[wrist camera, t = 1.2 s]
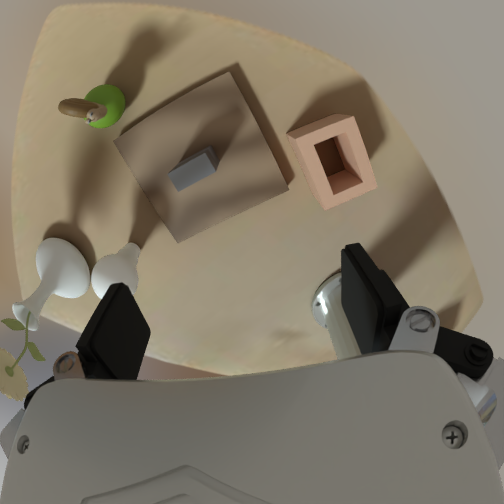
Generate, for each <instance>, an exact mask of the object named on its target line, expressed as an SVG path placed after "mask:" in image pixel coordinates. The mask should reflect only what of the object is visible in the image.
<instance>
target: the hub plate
mask: <svg viewBox="0 0 504 504" xmlns="http://www.w3.org/2000/svg"><path fill="white" fill-rule="evenodd" d="M113 142H114V143H115V145H116V147H117V148H118V150H119V152H120V154H121V155H122V157H123V159H124V160H125V162H126V164H127V165H128V167H129V169H130V170H131V172H132V173H133V175H134V177H135V178H136V180H137V182H138V183H139V185H140V186H141V188H142V190H143V191H144V193H145V194H146V196H147V198H148V199H149V201H150V202H151V204H152V205H153V207H154V208H155V210H156V212H157V213H158V215H159V216H160V218H161V219H162V221H163V222H164V224H165V225H166V227H167V228H168V230H169V231H170V233H171V234H172V236H173V237H174V239H175V240H176V242H177V243H180V242H182V241H183V240H185V239H187V238H189V237H191V236H193V235H195V234H197V233H199V232H201V231H203V230H206V229H208V228H210V227H212V226H214V225H216V224H218V223H220V222H222V221H224V220H226V219H228V218H230V217H232V216H234V215H236V214H239V213H241V212H243V211H245V210H247V209H249V208H251V207H253V206H255V205H258V204H260V203H262V202H264V201H266V200H268V199H271V198H273V197H275V196H277V195H279V194H282V193H284V192H286V191H288V190H289V188H288V186H287V184H286V182H285V179H284V177H283V175H282V173H281V171H280V169H279V167H278V165H277V162H276V160H275V158H274V156H273V154H272V152H271V150H270V148H269V146H268V144H267V142H266V140H265V138H264V136H263V134H262V132H261V130H260V128H259V126H258V124H257V122H256V120H255V118H254V116H253V114H252V112H251V111H250V109H249V107H248V105H247V103H246V101H245V99H244V97H243V95H242V94H241V92H240V90H239V88H238V86H237V84H236V83H235V81H234V79H233V77H232V75H231V74H230V72H227V73H225V74H223V75H221V76H219V77H217V78H215V79H213V80H211V81H209V82H207V83H205V84H203V85H201V86H199V87H197V88H195V89H194V90H192V91H190V92H188V93H186V94H185V95H183V96H181V97H179V98H178V99H176V100H174V101H173V102H171V103H169V104H168V105H166V106H164V107H163V108H161V109H159V110H158V111H156V112H155V113H153V114H152V115H150V116H148V117H147V118H145V119H144V120H142V121H141V122H139V123H138V124H137V125H135V126H134V127H132V128H131V129H129V130H128V131H127V132H125V133H124V134H122V135H121V136H120V137H118V138H117V139H116V140H114V141H113Z"/></svg>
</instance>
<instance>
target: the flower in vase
mask: <svg viewBox="0 0 504 504" xmlns="http://www.w3.org/2000/svg"><path fill="white" fill-rule="evenodd" d="M36 265H37V270H38V273H39V276H40V278H41V284H40V286H39V287H38V288H37V290H36V291H35V292H34V293H33V294H32V295H31V296H30V297H29V298H27V299H26V300H24V301H22V302H16V303H14V304H13V306H12V308H13V312H14V314H15V316H16V318H17V319H18V320H15V319H4V320H2V321H1V322H3V323H4V324H6V325H7V326H8V327H9V328H11V329H12V330H24V329H25V327H26V342H25V348H24V350H23V352H22V353H21V355H20V356H19V358H18V359H17V360H16V359H14V357H13V356H12V355H11V354H10V353H7V351H6V350H5V349H1V348H0V391H1V393H2V394H6V396H7V397H8V398H9V399H11V398H13V399H15V400H16V401H19V400H20V401H23V398H26V395H27V394H28V393H29V391H28V389H27V387H28V383H27V382H26V380H27V378H26V376H25V375H24V373H23V369H22V368H21V367H19V366H18V362H19V360H20V359H21V357H22V356H23V354H24V353H25V351H26V349H27V346H28V349H29V351H30V352H31V354H32V356H33V358H34V359H36V360H37V361H45V358H44V357H43V356H42V355H41V353H40V352H39V350H38V349H37V347H36V345H35V344H34V343H33V342H28V329H30V330H33V331H36V330H38V328H39V314H40V311H41V309H42V307H43V305H44V303H45V302H46V300H47V299H48V297H49V296H50V295H51V294H53V293H55V294H57V295H59V296H62V297H66V298H76V297H79V296H81V295H83V294H84V293H85V292H86V291H87V290H88V288H89V286H90V272H89V268H88V265H87V263H86V261H85V259H84V257H83V255H82V254H81V253H80V252H79V250H78V249H77V248H76V247H74V246H73V245H72V244H71V243H69V242H67V241H65V240H63V239H59V238H48V239H45V240H44V241H42V242H41V244H40V245H39V247H38V250H37V253H36Z"/></svg>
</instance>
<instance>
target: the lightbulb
mask: <svg viewBox="0 0 504 504" xmlns="http://www.w3.org/2000/svg"><path fill="white" fill-rule="evenodd" d="M139 255H140V248H139V247H138V245H136V244H135V243H128V244H126V245H125V246H124V248H122V249H120V250H119V251H118V253H116V254H111V255H107V256H104V257H103V258H101V259H100V260H99V261H98V262H97V263H96V264H95V266H94V268H93V271H92V276H91V281H92V286H93V289H94V291H95V293H96V294H97V296H98V297H99V298H100V299H102V298H103V296H104V294H105V293H106V291H107V289H108V288H109V286H110V285H111V284H114V283H120V282H123V283H124V284H125V285H127V286H128V287H129V289H130V291H131V293H132V295H134V293H135V292H136V289H137V287H138V273H137V269H136V265H137V263H138V257H139Z"/></svg>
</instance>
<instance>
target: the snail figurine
mask: <svg viewBox="0 0 504 504" xmlns="http://www.w3.org/2000/svg"><path fill="white" fill-rule="evenodd" d="M58 109H59V111H60V112H61V113H63V114H65V115H69V116H73V117H80V118H84V120H85V122H86V124H89V125H90V126H92V127H95V128H106V127H109V126H111V125H113V124H114V123H116V122H117V121H118V120H119V119H120V117H121V116H122V114H123V112H124V109H125V97H124V95H123V93H122V91H121V90H120V89H119V88H117V87H116V86H113V85H109V84H105V85H100V86H97V87H95V88H94V89H92V90H91V91H90V92H89V93H88V94H87V95H86V97H85V99H77V98H70V99H65V100H62V101H61V102H60V103H59V106H58Z"/></svg>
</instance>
